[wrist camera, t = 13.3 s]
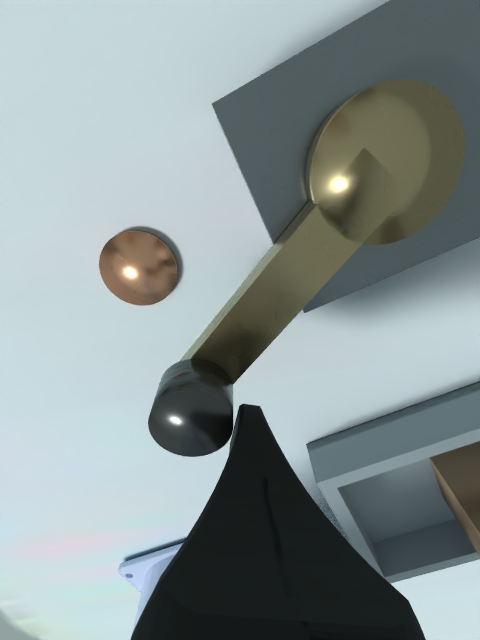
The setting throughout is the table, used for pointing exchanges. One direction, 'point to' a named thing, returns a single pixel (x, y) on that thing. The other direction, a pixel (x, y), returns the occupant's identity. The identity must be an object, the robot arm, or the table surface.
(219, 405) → the crank
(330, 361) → the table surface
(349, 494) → the tray
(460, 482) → the block
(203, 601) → the robot arm
